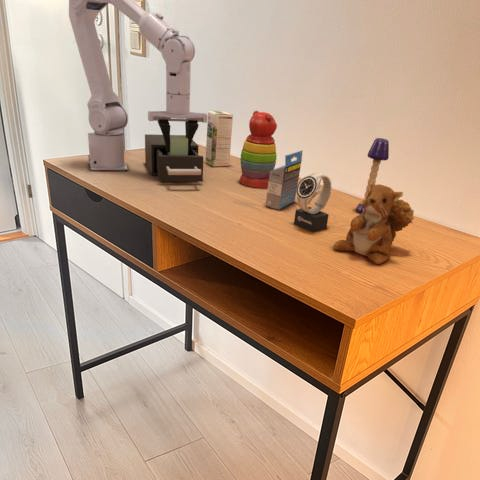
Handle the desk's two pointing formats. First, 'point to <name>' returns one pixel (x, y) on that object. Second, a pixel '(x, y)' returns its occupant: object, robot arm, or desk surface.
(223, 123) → the syrup box
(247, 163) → the stacking bear
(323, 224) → the watch
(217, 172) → the desk surface
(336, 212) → the desk surface
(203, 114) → the robot arm
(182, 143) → the block
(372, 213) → the stuffed squirrel
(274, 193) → the label tape box
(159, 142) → the small drawer cabinet
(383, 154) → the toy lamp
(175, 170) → the black drawer
